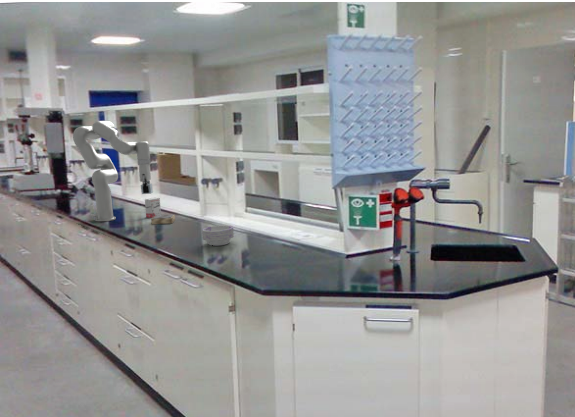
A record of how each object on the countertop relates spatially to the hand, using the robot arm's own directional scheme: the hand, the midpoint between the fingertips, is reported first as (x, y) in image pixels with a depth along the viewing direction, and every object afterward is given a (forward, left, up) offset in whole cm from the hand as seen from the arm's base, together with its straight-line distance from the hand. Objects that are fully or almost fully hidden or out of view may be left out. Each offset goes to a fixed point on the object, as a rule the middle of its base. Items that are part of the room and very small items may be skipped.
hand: (147, 192), depth 336 cm
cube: (0, 0, -1) cm, 1 cm away
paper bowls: (+47, -69, -18) cm, 86 cm away
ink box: (-1, +19, -18) cm, 26 cm away
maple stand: (+9, -2, -18) cm, 20 cm away
